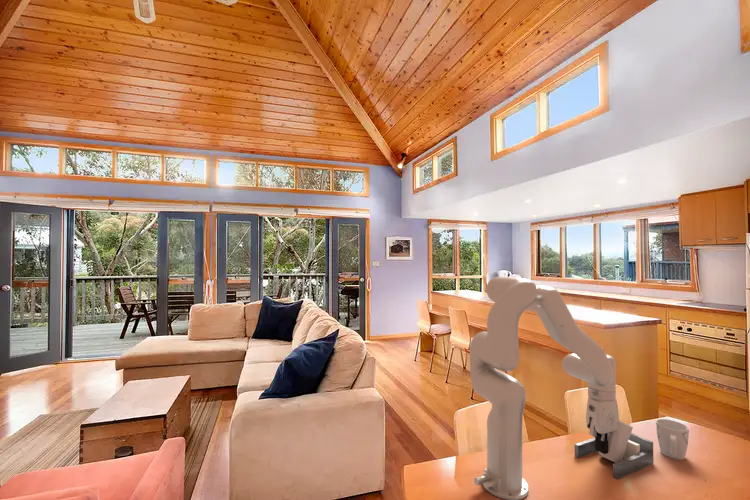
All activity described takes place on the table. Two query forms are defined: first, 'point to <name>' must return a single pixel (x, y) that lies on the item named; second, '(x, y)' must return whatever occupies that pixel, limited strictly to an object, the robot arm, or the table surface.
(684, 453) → the mug
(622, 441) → the cup
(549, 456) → the table surface
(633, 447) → the pusher plate
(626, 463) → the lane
